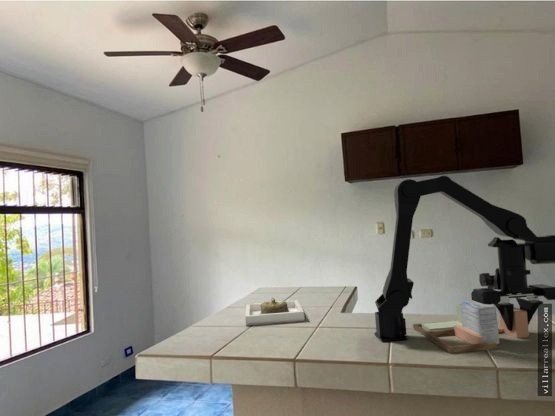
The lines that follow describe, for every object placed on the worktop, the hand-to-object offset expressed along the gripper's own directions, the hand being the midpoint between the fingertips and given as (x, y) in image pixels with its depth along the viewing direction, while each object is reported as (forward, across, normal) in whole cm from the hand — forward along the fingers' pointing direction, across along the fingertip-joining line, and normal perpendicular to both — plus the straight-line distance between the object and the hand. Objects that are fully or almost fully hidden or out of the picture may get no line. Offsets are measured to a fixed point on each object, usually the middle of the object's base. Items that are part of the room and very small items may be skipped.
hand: (517, 329), depth 96 cm
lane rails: (+1, +15, -2) cm, 15 cm away
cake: (+2, +57, -40) cm, 69 cm away
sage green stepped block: (+1, +13, -8) cm, 15 cm away
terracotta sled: (+1, +6, +1) cm, 6 cm away
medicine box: (+2, +10, +2) cm, 10 cm away
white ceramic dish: (+2, +57, -38) cm, 69 cm away
